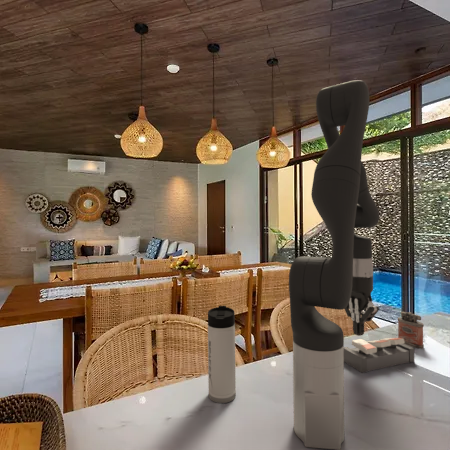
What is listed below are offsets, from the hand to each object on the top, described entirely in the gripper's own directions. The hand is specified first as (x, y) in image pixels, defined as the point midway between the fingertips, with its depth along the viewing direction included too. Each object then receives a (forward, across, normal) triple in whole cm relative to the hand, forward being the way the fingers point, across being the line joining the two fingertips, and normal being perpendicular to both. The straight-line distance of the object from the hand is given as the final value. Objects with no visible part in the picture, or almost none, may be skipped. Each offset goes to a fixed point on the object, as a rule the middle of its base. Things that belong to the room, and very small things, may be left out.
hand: (358, 334), depth 87 cm
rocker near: (+3, +2, 0) cm, 3 cm away
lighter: (+8, -4, +25) cm, 26 cm away
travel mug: (+8, +2, -42) cm, 43 cm away
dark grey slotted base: (+8, +2, +5) cm, 9 cm away
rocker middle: (+3, +2, +5) cm, 6 cm away
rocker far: (+3, +2, +10) cm, 11 cm away
